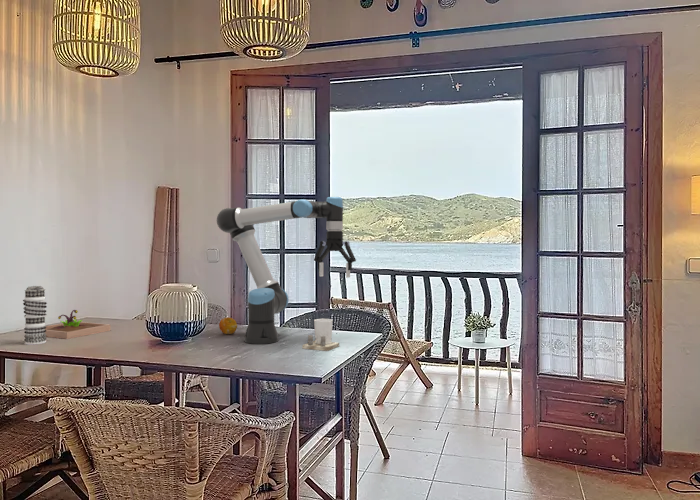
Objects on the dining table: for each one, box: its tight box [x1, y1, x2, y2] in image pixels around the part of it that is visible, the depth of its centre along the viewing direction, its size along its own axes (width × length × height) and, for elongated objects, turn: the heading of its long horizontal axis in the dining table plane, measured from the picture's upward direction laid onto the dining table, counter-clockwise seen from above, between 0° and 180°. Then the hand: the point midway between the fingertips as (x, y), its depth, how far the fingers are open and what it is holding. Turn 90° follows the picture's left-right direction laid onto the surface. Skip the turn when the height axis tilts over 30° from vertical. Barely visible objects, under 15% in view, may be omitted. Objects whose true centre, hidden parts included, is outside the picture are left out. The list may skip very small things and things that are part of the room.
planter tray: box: [45, 321, 111, 340], centre depth 274 cm, size 25×25×3 cm
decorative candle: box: [22, 285, 48, 346], centre depth 248 cm, size 9×9×25 cm
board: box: [302, 334, 340, 352], centre depth 239 cm, size 12×11×6 cm
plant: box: [47, 309, 93, 332], centre depth 276 cm, size 20×20×11 cm
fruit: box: [218, 316, 238, 335], centre depth 271 cm, size 8×9×8 cm
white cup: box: [313, 318, 334, 345], centre depth 240 cm, size 8×8×10 cm
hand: (334, 277), depth 257 cm, fingers open, 13 cm apart
